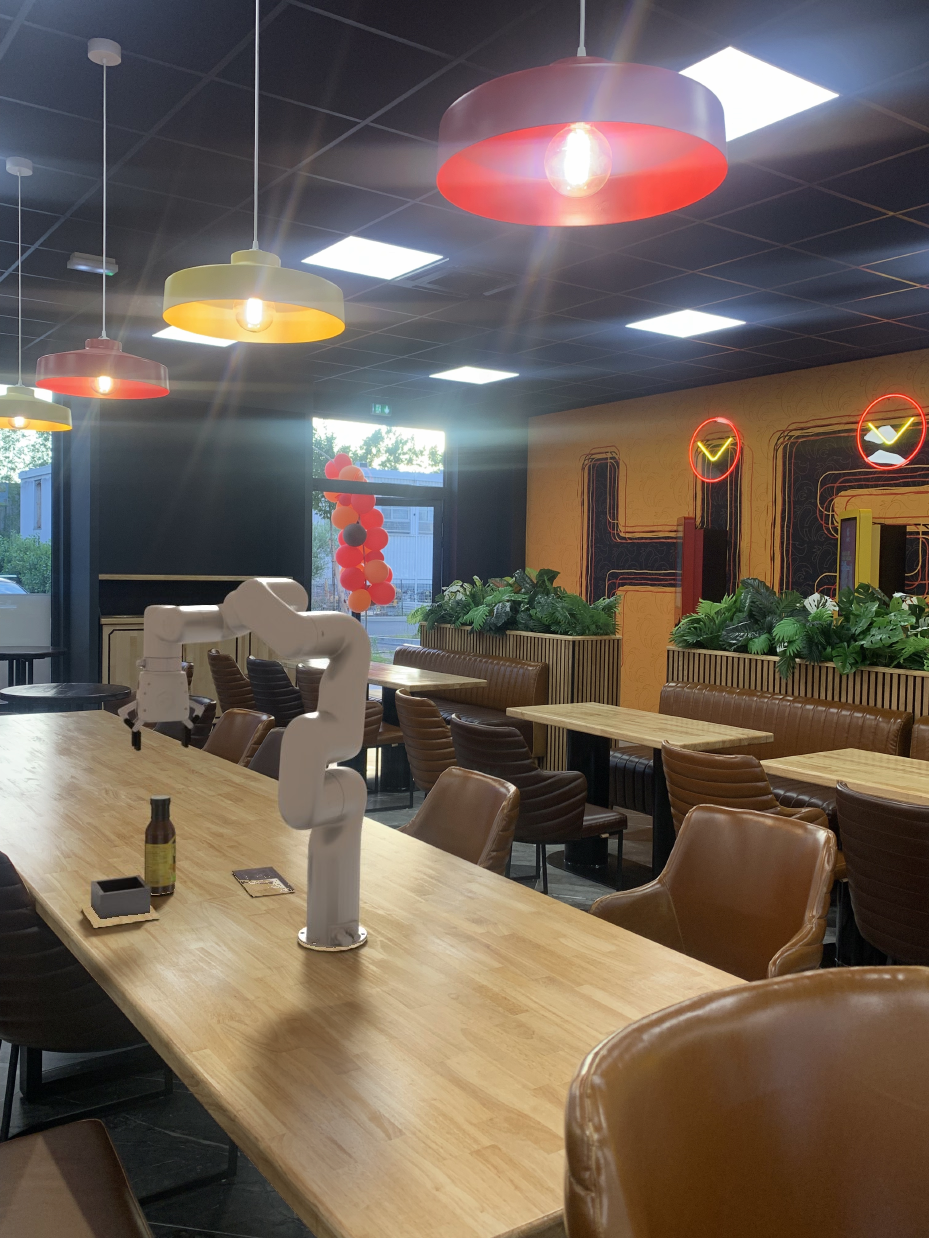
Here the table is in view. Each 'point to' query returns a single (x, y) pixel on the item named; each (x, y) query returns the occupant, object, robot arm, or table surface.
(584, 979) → the table surface
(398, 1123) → the table surface
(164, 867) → the sauce bottle
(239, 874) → the chocolate bar
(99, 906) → the condiment holder
